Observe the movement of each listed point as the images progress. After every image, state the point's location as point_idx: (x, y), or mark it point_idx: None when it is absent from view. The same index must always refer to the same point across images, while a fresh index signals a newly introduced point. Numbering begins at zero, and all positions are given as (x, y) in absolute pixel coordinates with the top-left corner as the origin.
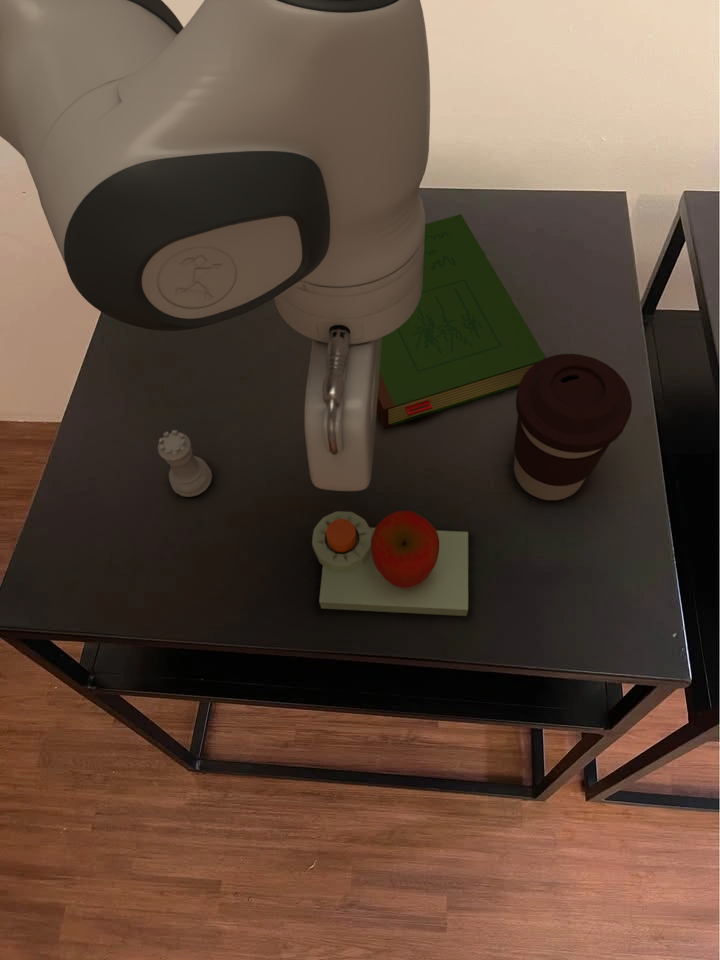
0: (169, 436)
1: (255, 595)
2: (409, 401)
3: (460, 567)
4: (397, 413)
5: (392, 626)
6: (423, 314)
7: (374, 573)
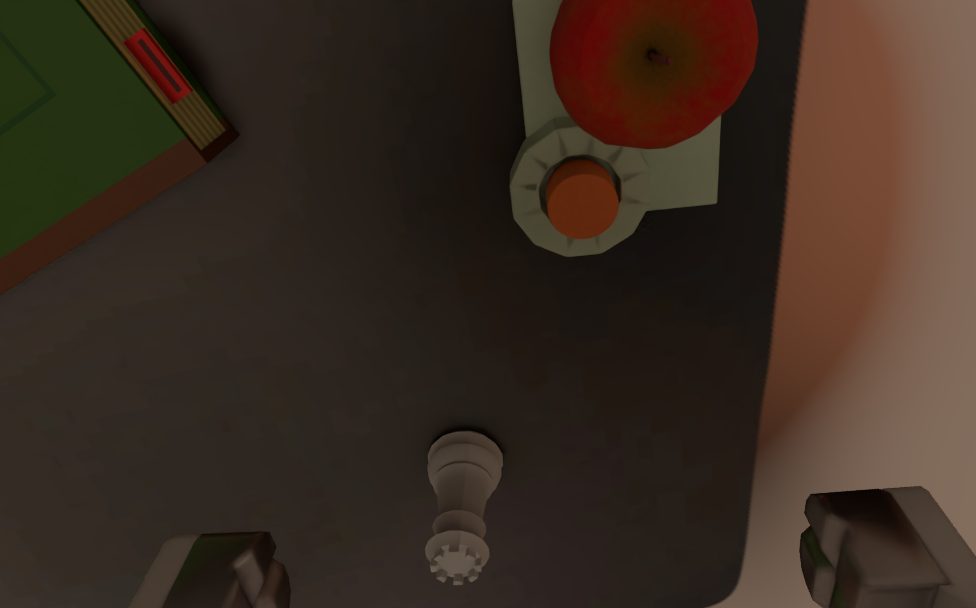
0: (442, 568)
1: (682, 310)
2: (156, 100)
3: None
4: (194, 118)
5: None
6: None
7: None
